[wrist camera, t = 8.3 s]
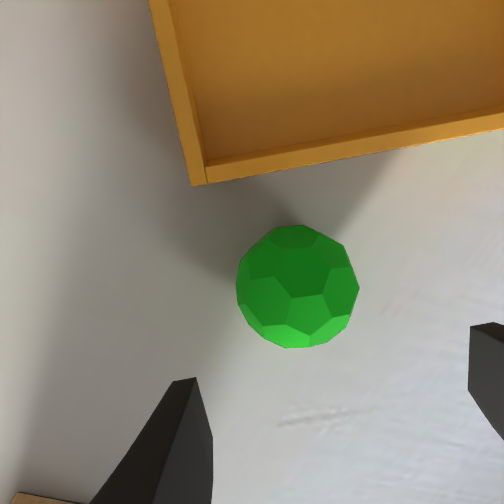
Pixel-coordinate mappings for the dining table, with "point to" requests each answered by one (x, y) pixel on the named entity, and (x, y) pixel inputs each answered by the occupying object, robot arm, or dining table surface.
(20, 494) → the sandwich container
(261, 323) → the polyhedron
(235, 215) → the dining table surface
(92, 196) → the dining table surface
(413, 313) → the dining table surface
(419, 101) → the tray
